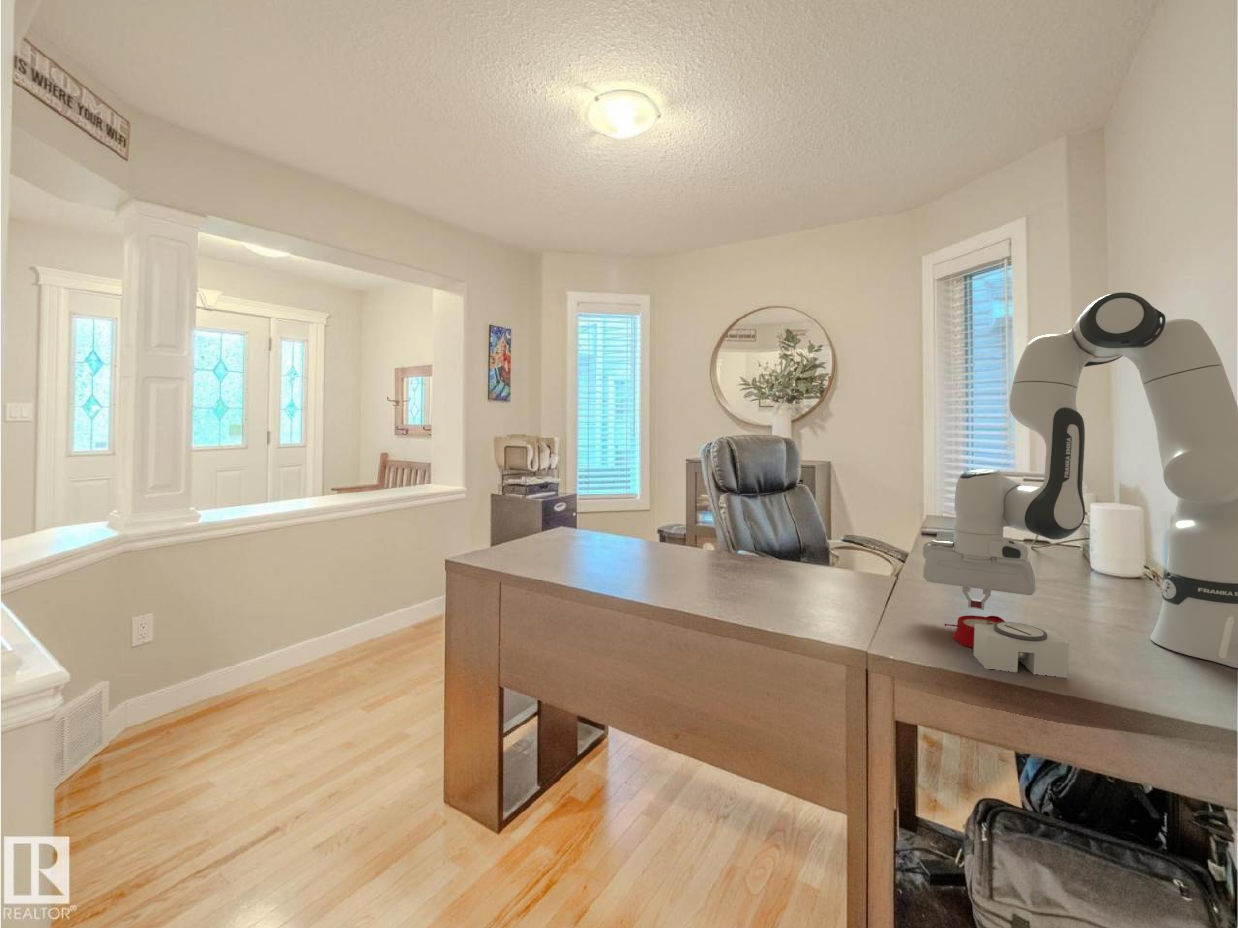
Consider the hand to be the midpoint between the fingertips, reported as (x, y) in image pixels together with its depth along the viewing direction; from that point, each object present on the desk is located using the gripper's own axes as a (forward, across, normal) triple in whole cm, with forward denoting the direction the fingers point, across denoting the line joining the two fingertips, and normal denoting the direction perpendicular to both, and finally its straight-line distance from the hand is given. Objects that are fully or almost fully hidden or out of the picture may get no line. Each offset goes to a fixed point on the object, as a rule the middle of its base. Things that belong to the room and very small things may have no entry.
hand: (976, 608), depth 117 cm
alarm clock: (+4, +3, -11) cm, 12 cm away
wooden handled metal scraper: (+2, +7, -19) cm, 21 cm away
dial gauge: (+4, +7, -21) cm, 23 cm away
